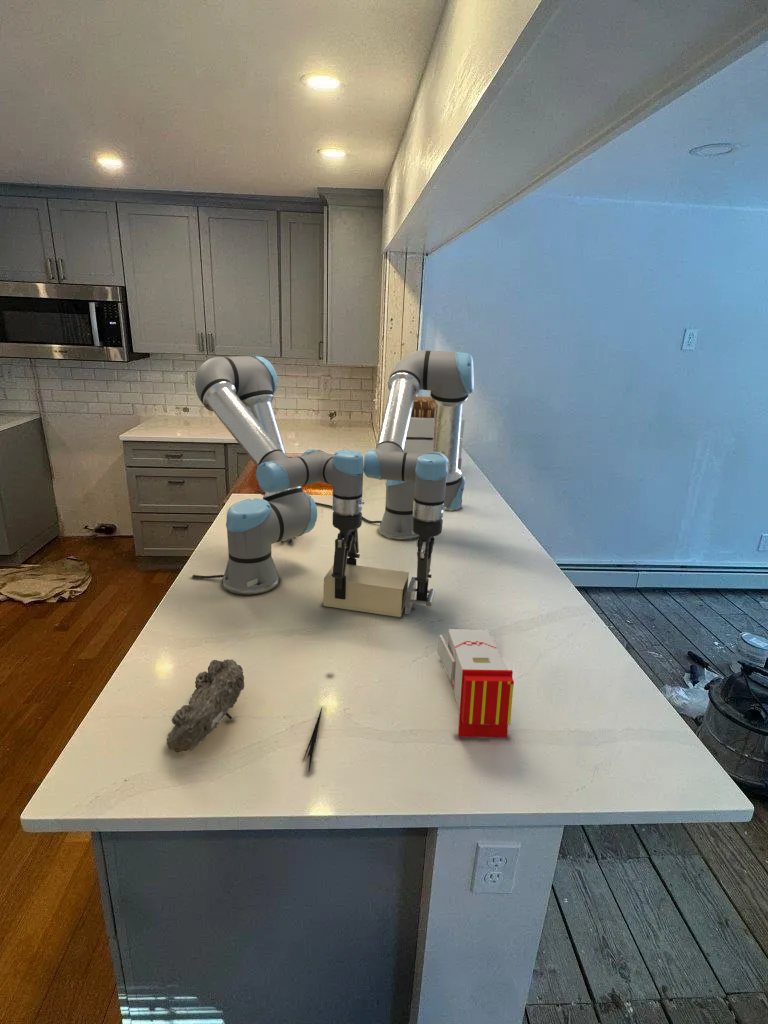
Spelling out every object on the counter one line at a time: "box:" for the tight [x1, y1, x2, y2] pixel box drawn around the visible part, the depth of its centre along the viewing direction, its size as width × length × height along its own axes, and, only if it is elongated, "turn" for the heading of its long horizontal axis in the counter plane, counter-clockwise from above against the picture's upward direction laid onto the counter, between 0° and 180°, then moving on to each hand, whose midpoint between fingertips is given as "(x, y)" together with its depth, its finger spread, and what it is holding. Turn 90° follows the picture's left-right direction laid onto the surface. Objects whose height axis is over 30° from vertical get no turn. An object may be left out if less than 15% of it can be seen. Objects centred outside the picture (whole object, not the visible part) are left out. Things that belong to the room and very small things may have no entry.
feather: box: [301, 673, 332, 771], centre depth 108 cm, size 2×28×2 cm
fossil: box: [166, 658, 245, 754], centre depth 106 cm, size 22×10×15 cm
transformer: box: [404, 395, 465, 472], centre depth 268 cm, size 34×33×41 cm
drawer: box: [402, 576, 436, 615], centre depth 150 cm, size 25×9×6 cm, turn 78°
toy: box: [437, 628, 515, 738], centre depth 117 cm, size 12×13×30 cm
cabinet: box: [323, 563, 410, 618], centre depth 151 cm, size 21×10×8 cm, turn 78°
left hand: (345, 588), depth 152 cm, fingers closed on cabinet, 10 cm apart
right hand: (421, 601), depth 149 cm, fingers closed
